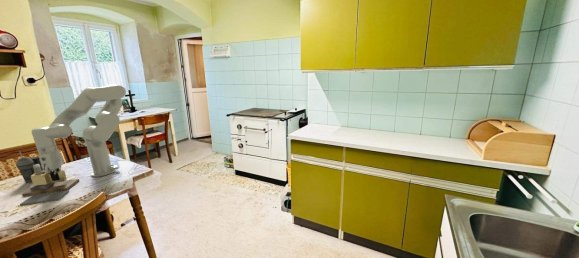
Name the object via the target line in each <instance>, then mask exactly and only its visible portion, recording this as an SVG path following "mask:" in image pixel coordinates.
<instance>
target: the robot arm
mask: <svg viewBox="0 0 579 258" xmlns="http://www.w3.org/2000/svg"><path fill="white" fill-rule="evenodd" d="M126 94H127V90H126V88H125V87H124V86H123V85H119V84H106V85H105V86H100V87H98V86H97V87H94V86H93V87H92V86H91V87H90V86H89V87H85V88H84V89H83V90H82V91H81V92H80V93H79V94H78V96H77V97H75V99H74V100H73V102H72V103H71V104H70V105H69V106H68V107H66V109H64V110H63V111H62V112H60V113H59V115H57V116H56V117H55V118H54V120H53V121H52V122H51V123H50V125H49V126H40V127H35V128H33V129H31V130H30V131H31V135H32V137H33V140H34V143H35V147H36V150H37V153H38V154H39V156H38V157H39V158H40V162H41V166H42V168H43V170H44V171H45V174H49V175H50V176H51V179H52V181H57V180H59V176H58V173H57V174H56V171H61V170H62V166H63V165H64V164H65V161H64V158H63V156H62V154H61V151H60V150H59V148H58V146H57V143H56V140H55V139H63V138H68V137H69V136H71V135H72V133H73V129H72V127H71V126H70V125H71V124H73V122H74V121H76V120H77V119H79V118H82V117H83V116H85V115H87V114H88V112H89V111H90V110H92V107H93V106H94V105H95V104H96V103H97V102H99V103H100V102H105V103H104V104H103V107H101V109H100V111H98V113H97V114H96V116H95V117H94V121H95V123H96V124H97V125H89V126H86V127H85V128H84V129H83V131H82V138H83V141H84V143H85V145H86V149H87V152H88V156H89V159H90V164H91V168H92V172H91V173H90V175H91V177H93V178H98V177H100V178H101V177H105V176H108V175H111V174H113V173H114V172H115V171H116V170H119V165H114V163H111V159H110V158H111V157H110V155H109V150H108V146H107V141H108V140H109V139H110V138H111V136H112V135H113V134H114V132H115V131H116V130H117V128H118V126H119V124H120V117H119V115H118V114H119V111H120V110H121V108H122V106H123V105H122V104H123V101H122V99H123V98H125V96H126Z"/></svg>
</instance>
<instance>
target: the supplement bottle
mask: <svg viewBox="0 0 579 258" xmlns="http://www.w3.org/2000/svg"><path fill="white" fill-rule="evenodd" d="M30 158H31V159H32V160H33V162H34V165H36V164H39V165H40V168H41V171H44V170H43V168H42V166H41V162H40V157H39V156H34V157H30Z"/></svg>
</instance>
